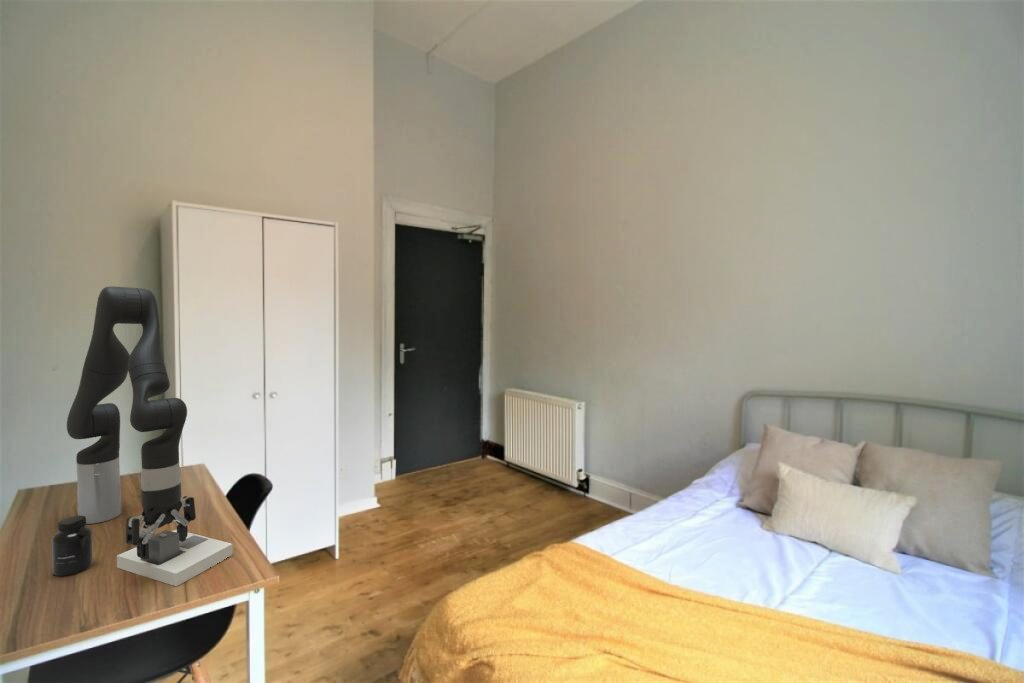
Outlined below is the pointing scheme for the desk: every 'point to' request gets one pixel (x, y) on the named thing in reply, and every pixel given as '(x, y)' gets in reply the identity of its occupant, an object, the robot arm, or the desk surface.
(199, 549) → the outlet plate
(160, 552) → the charger
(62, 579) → the desk surface
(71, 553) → the supplement bottle
